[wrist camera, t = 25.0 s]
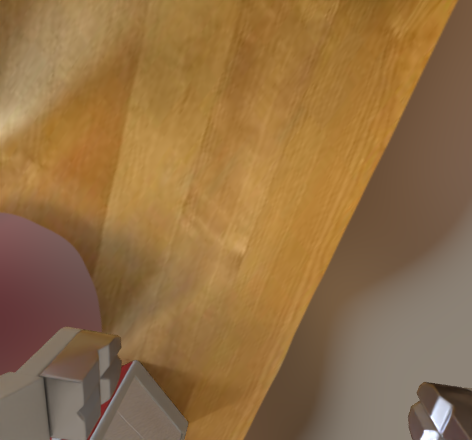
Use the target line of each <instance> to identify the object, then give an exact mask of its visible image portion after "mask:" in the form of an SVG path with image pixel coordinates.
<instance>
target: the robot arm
mask: <svg viewBox="0 0 472 440" xmlns="http://www.w3.org/2000/svg"><path fill="white" fill-rule="evenodd" d="M120 349H121V337H119V336H118V335H113V334H107V333H101V332H96V331H90V330H82V329H77V328H71V327H65V328H62V329H60V330H59V331H58V332H57V333H56V334H55V335H54V336H53V337H52V338H51V339H50V340H49V341H48V342H47V343H46V344H45V345H43V347H41V348H40V350H38V351H37V352H36V353H35V354H34V355H33V356H32V357H31V358H30V359H29V360H28V361H27V362H26V363H25V364H24V365H23V366H22V367H21V368H20V369H19V370H18V371H17V372H15V373H13V372H8V373H6V374H4V375H1V376H0V440H50V438H58V439H65V440H87V439H88V437H89V436H90V434H91V432H92V430H93V429H94V427H95V425H96V423H97V422H98V420H99V418H100V416H101V405H102V404H104V403H105V402H107V401H108V400H110V399H111V397H112V395H113V393H114V391H115V389H116V387H117V384H118V381H119V378H120V374H121V360H120V358H119V357H118V355H117V354H118V352H119V351H120ZM417 395H418V397H419V399H420V401H418V402H417V403H415V404H414V405H412V406H411V409H410V412H409V415H408V421H409V430H410V433H411V437H412V439H413V440H472V388H462V387H456V386H448V385H442V384H435V383H428V382H424V383H422V384H421V385H420V386H419V388H418V391H417Z"/></svg>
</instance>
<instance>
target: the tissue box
mask: <svg viewBox="0 0 472 440" xmlns="http://www.w3.org/2000/svg"><path fill="white" fill-rule="evenodd" d="M187 427H188V421H187V420H186V419H185V418H184V416H183V415H182V414H181V413H180V412H179V410H178V409H177V408H176V407H175V405H174V404H173V403H172V402H171V400H170V399H169V398H168V397H167V395H166V394H165V393H164V392H163V390H162V389H161V388H160V387H159V386H158V384H157V383H156V382H155V381H154V379H153V378H152V377H151V376H150V374H149V373H148V372H147V371H146V369H145V368H144V367H143V366H142V364H141V363H140V362H139V361H136V360H135V361H133V362H130V363H128V364H126V365H124V366H122V367H121V374H120V378H119V381H118V384H117V387H116V389H115V391H114V393H113V395H112V397H111V399H110V400H108V401H107V402H105V403H104V404H102V405H101V416H100V418H99V420H98V422H97V423H96V425H95V427H94V429H93V430H92V432H91V434H90V436H89V437H88V439H87V440H184V439H185V435H186V431H187ZM50 440H65V439H58V438H50Z"/></svg>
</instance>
